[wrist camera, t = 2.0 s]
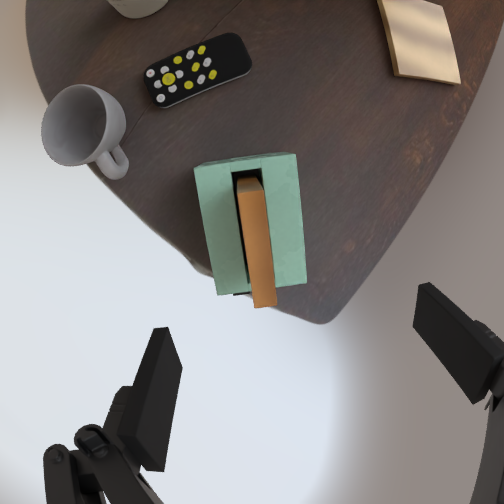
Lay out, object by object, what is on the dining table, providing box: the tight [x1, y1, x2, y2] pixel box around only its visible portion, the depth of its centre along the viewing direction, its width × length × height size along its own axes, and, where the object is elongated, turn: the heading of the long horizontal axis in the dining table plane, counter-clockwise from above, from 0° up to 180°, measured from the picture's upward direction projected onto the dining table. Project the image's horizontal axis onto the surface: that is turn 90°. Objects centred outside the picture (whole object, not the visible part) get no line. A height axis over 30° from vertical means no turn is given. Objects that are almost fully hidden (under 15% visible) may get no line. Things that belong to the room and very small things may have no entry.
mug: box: [41, 84, 129, 179], centre depth 29 cm, size 12×9×10 cm
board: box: [377, 0, 461, 85], centre depth 28 cm, size 14×12×2 cm
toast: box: [237, 174, 277, 308], centre depth 29 cm, size 2×10×12 cm, turn 8°
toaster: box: [194, 152, 307, 296], centre depth 34 cm, size 10×16×8 cm, turn 8°
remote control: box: [143, 33, 252, 108], centre depth 30 cm, size 6×13×2 cm, turn 112°
